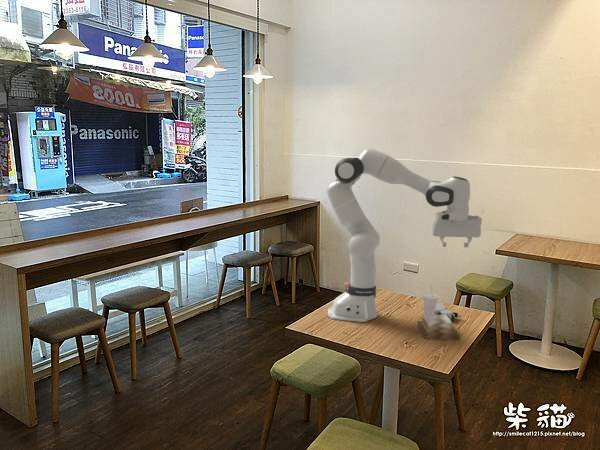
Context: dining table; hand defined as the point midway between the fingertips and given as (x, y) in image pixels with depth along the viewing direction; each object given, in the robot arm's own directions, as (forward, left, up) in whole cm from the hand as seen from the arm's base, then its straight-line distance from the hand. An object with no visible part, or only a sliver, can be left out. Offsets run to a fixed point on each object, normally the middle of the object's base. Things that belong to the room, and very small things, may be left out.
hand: (454, 246), depth 212 cm
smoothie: (-12, -12, -28) cm, 33 cm away
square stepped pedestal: (-8, -12, -34) cm, 37 cm away
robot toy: (-2, +6, -35) cm, 35 cm away
